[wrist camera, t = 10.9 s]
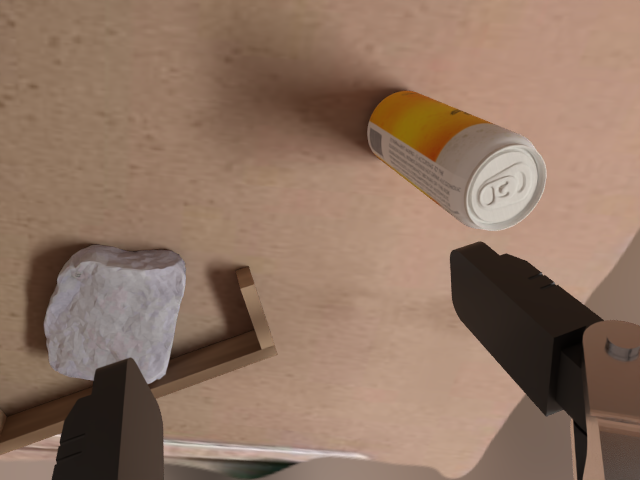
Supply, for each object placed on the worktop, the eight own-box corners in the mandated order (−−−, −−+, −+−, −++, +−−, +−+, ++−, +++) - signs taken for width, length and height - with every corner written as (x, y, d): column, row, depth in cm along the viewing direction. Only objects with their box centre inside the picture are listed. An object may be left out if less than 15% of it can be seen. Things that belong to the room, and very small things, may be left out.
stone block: (57, 345, 43) (172, 363, 45) (33, 380, 38) (161, 399, 40) (69, 223, 39) (195, 249, 41) (44, 247, 34) (186, 274, 36)
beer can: (435, 145, 42) (554, 214, 30) (372, 171, 42) (466, 252, 29) (423, 78, 39) (551, 121, 26) (355, 104, 38) (453, 162, 26)
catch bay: (-54, 366, 38) (-69, 393, 36) (248, 266, 42) (254, 284, 40) (-1, 430, 43) (-11, 458, 40) (271, 334, 46) (277, 354, 44)
